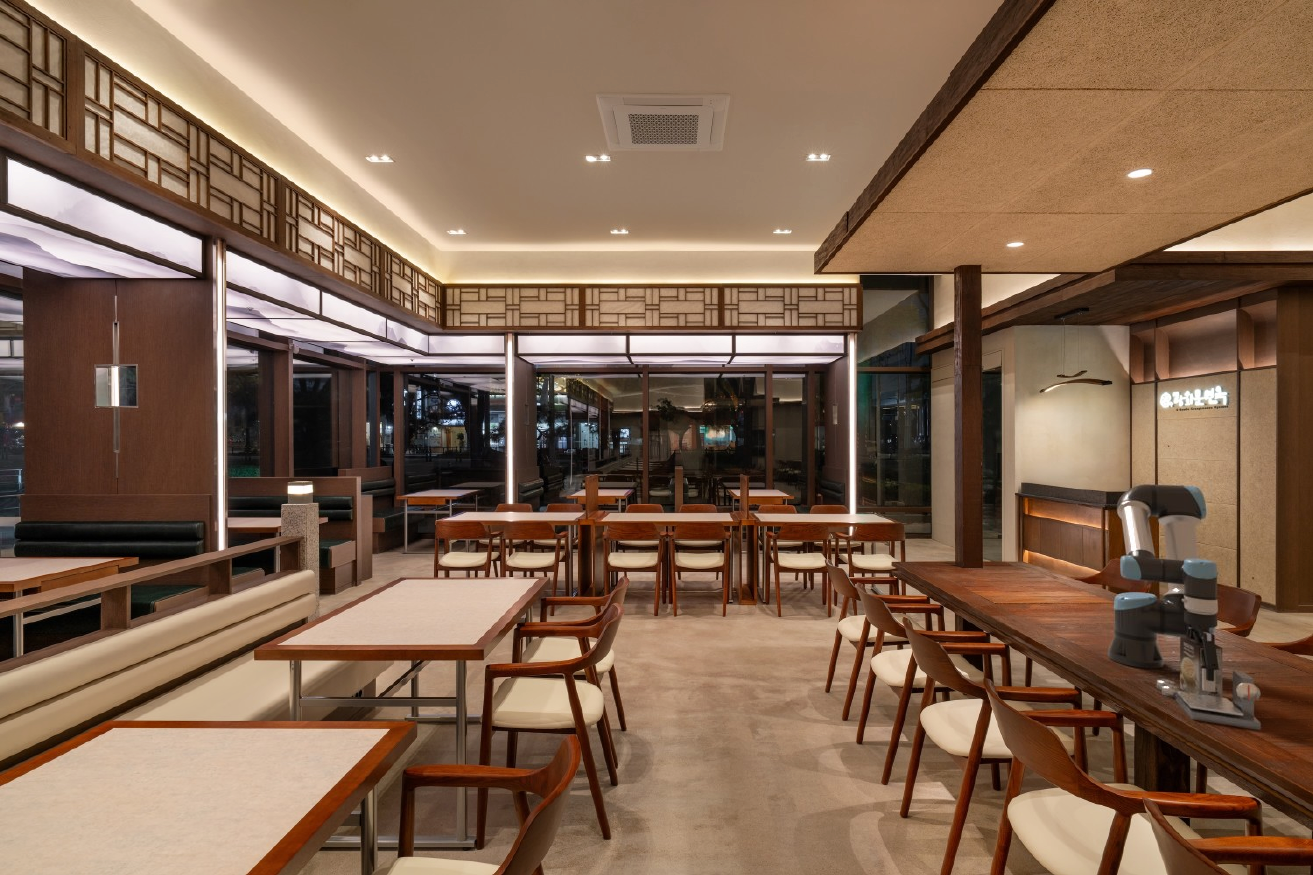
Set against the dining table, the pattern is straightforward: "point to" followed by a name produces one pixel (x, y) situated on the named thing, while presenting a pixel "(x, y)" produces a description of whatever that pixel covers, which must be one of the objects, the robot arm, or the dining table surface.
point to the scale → (1225, 704)
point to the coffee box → (1197, 668)
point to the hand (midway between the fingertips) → (1200, 683)
